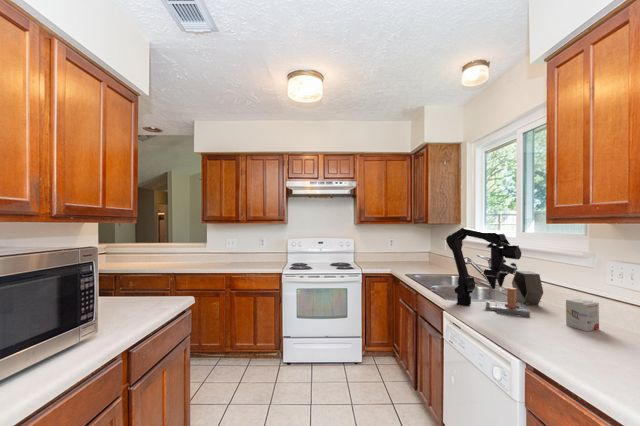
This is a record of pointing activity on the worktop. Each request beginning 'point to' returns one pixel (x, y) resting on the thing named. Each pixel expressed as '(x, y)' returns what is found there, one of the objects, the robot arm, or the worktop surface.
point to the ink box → (582, 314)
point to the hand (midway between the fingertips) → (497, 287)
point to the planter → (528, 287)
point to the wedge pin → (512, 297)
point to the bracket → (490, 306)
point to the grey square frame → (512, 309)
